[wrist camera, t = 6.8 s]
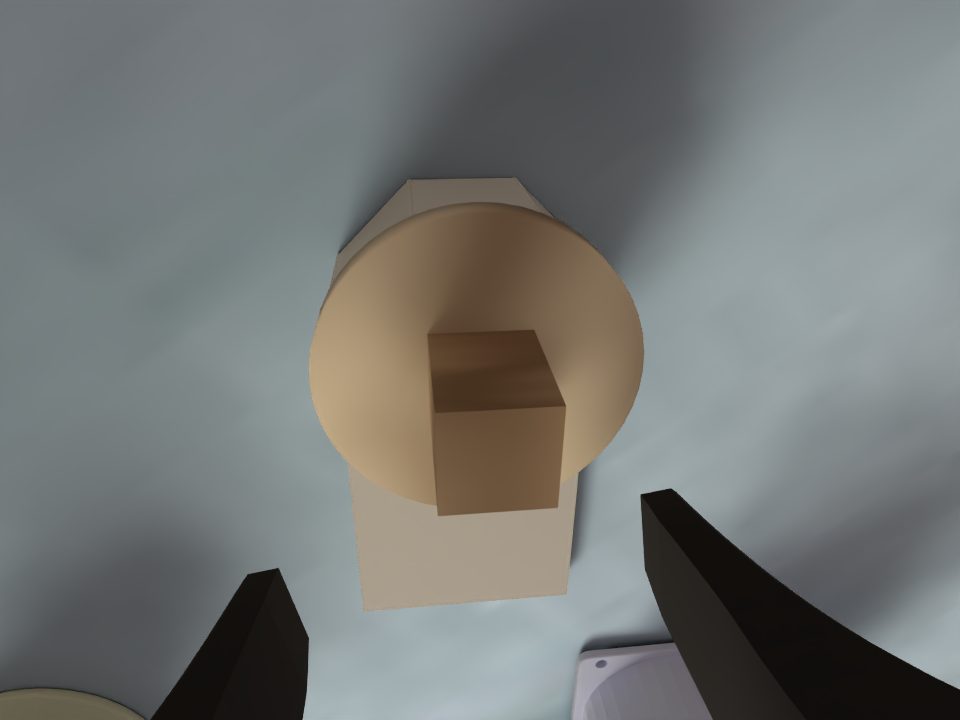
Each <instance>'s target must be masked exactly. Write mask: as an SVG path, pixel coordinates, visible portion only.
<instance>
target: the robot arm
mask: <svg viewBox="0 0 960 720" xmlns="http://www.w3.org/2000/svg"><path fill="white" fill-rule="evenodd" d="M641 512H642V529H643V545H644V562H645V571H646V573H647V576H648V579H649V582H650V585H651V588H652V590H653V593H654V596H655V599H656V602H657V604H658V607H659V610H660V612H661V615H662V618H663V620H664V622H665V624H666V626H667V628H668V630H669V632H670V634H671V636H672V638H673V640H674V642H675V643H665V644H654V645H644V646H633V647H622V648H612V649H601V650H590V651H585V652H583V653H581V654H580V655H579V657H578V659H577V667H576V676H575V684H574V693H573V702H572V711H571V719H570V720H960V690H959V689H957V688H955V687H953V686H951V685H949V684H947V683H945V682H943V681H941V680H939V679H937V678H935V677H933V676H931V675H929V674H927V673H925V672H923V671H921V670H920V669H918V668H916V667H914V666H912V665H910V664H909V663H907V662H905V661H903V660H901V659H899V658H898V657H896V656H894V655H892V654H890V653H888V652H887V651H885V650H883V649H881V648H879V647H878V646H876V645H874V644H872V643H871V642H869V641H867V640H866V639H864V638H862V637H861V636H859V635H857V634H856V633H854V632H852V631H851V630H849V629H848V628H846V627H844V626H843V625H841V624H840V623H838V622H837V621H835V620H834V619H832V618H831V617H829V616H827V615H826V614H824V613H823V612H821V611H820V610H818V609H817V608H815V607H814V606H813V605H811V604H810V603H808V602H807V601H805V600H804V599H803V598H801V597H800V596H798V595H797V594H796V593H794V592H793V591H792V590H790V589H789V588H788V587H786V586H785V585H784V584H782V583H781V582H780V581H778V580H777V579H775V578H774V577H773V576H772V575H770V574H769V573H768V572H766V571H765V570H764V569H763V568H761V567H760V566H759V565H758V564H756V563H755V562H754V561H753V560H752V559H750V558H749V557H748V556H747V555H746V554H744V553H743V552H742V551H741V550H739V549H738V548H737V547H736V546H735V545H733V544H732V543H731V542H730V541H729V540H728V539H726V538H725V537H724V536H723V535H722V534H721V533H720V532H719V531H717V530H716V529H715V528H714V527H713V526H712V525H711V524H710V523H709V522H707V521H706V520H705V519H704V518H703V517H702V516H701V515H700V514H699V513H698V512H697V511H696V510H694V509H693V508H692V507H691V506H690V505H689V504H688V503H687V502H686V501H685V500H684V499H683V498H682V497H681V496H680V495H679V494H678V493H677V492H676V491H674V490H673V489H671V488H670V489H665V490H661V491H656V492H651V493H646V494H641ZM308 649H309V637H308V635H307V633H306V630H305V628H304V626H303V623H302V621H301V619H300V616H299V614H298V612H297V610H296V607H295V605H294V603H293V600H292V598H291V596H290V593H289V591H288V589H287V586H286V584H285V582H284V580H283V577H282V575H281V573H280V570H279V568H276V569H272V570H267V571H262V572H257V573H252V574H248V575H247V576H246V578H245V579H244V580H243V582H242V583H241V585H240V587H239V588H238V590H237V591H236V593H235V594H234V596H233V598H232V599H231V601H230V602H229V604H228V606H227V607H226V609H225V610H224V612H223V614H222V615H221V617H220V618H219V620H218V621H217V623H216V625H215V626H214V628H213V629H212V631H211V632H210V634H209V636H208V637H207V639H206V640H205V642H204V643H203V645H202V646H201V648H200V649H199V651H198V652H197V654H196V655H195V657H194V658H193V660H192V661H191V663H190V664H189V666H188V667H187V669H186V670H185V672H184V673H183V675H182V676H181V678H180V679H179V681H178V682H177V684H176V685H175V686H174V688H173V689H172V691H171V692H170V693H169V695H168V696H167V697H166V699H165V700H164V702H163V703H162V704H161V706H160V707H159V709H158V710H157V711H156V713H155V714H154V715H153V717H152V718H151V720H302V719H303V713H304V707H305V700H306V693H307V677H308Z"/></svg>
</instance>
